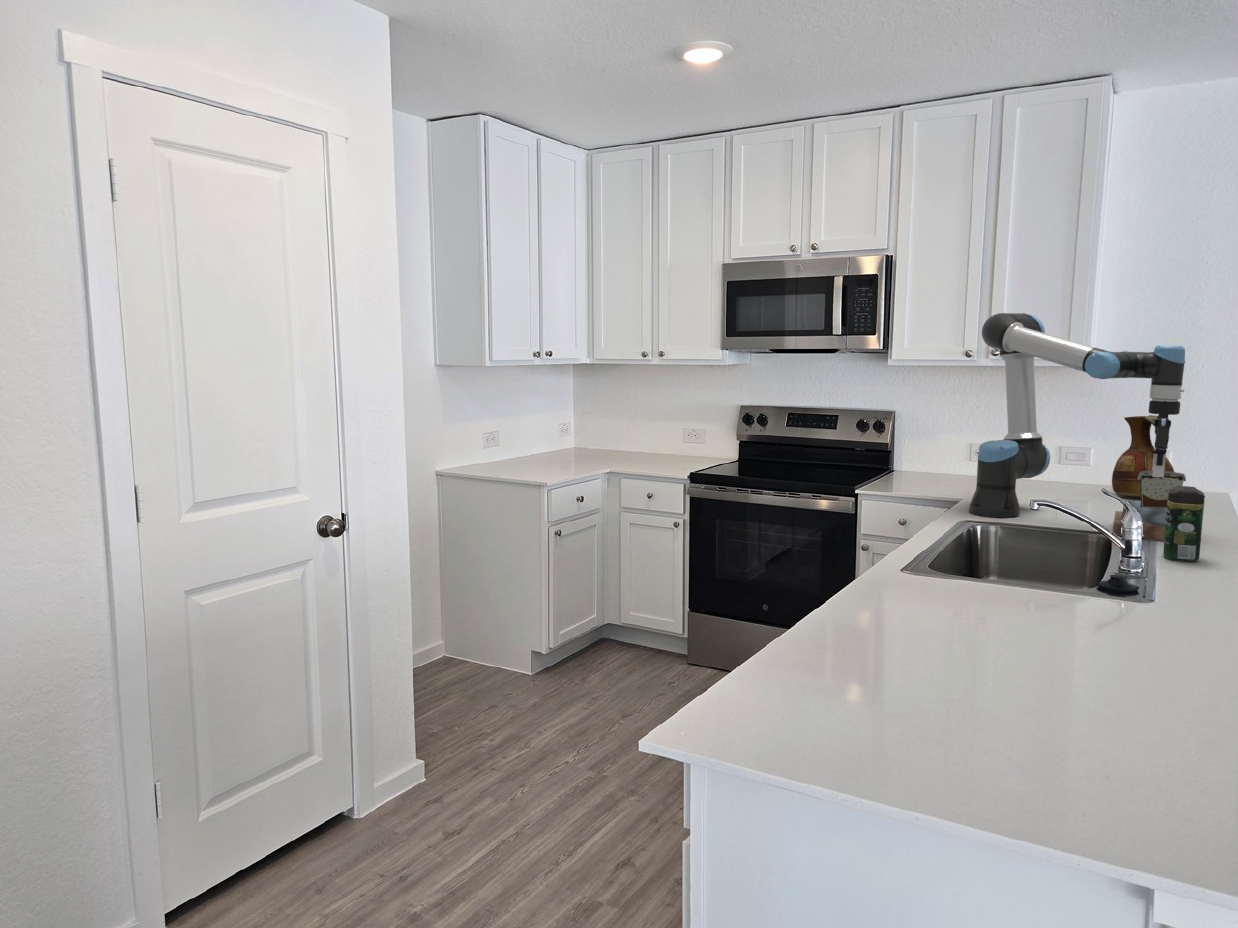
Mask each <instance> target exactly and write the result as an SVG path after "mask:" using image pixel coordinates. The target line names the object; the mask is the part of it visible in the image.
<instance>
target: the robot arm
mask: <svg viewBox="0 0 1238 928" xmlns="http://www.w3.org/2000/svg"><path fill="white" fill-rule="evenodd" d="M981 337H982V340H983V342H984V343H985V344H986V345H987V346H988V347H990V348H992V349H995V350H999V357H1000V359H1002V360H1003V361H1004V364H1005V366H1004V369H1005V391H1006V392H1005V394H1006V414H1007V434H1006V435H1005V436H1004V437H1003V439H997V440H995V439H994V440H987V441H985V442H982V443H981V444H980V445H979V447H978V453H977V467H976V468H977V470H976V471H977V472H976V485H975V486H976V488H975V491H974V493H973V495H972V498H971V501H970V503H969V507H968V511H969V513H971V514H974V515H977V516H983V517H991V518H993V517H994V518H1014V517H1013V516H1016V517H1019V516H1020V515H1021V507H1020V504H1019V500H1018V496H1017V491H1016V486H1017V480H1020V479H1031V478H1034V477H1037V476H1040V475H1042V474H1043V473H1044V472H1045V471H1047V469H1048V468H1049V465H1050V463H1051V453H1050V451H1049V448H1048V447H1047V446H1046V444H1044V443H1043V436H1042V435H1041V434H1040V433H1039V432H1038V430H1037V428H1038V426H1037V408H1036V406H1037V405H1036V385H1035V384H1036V383H1035V382H1036V380H1035V364H1034V363H1035V361H1034V360H1035V358H1038V359H1041V360H1044V361H1048V362H1051V363H1054V364H1056V365H1057V364H1058V365H1059V366H1060V365H1061V366H1063V367H1066V368H1067V367H1068V368H1070V369H1074V370H1077V371H1081V372H1082V373H1083V372H1084V373H1087V375H1089V376H1090V377H1091V378H1093V379H1098V380H1099V379H1100V380H1107V379H1150V380H1151V381H1150V382H1151V383H1150V389H1149V398H1150V399H1151V400H1149V403H1148V413H1149V414H1150V415H1156V416H1157V418H1158V420H1155V424H1154V425H1155V427H1154V434H1155V438H1154V440H1155V441H1154V445H1153V447H1154V450H1152V454H1154V456H1153V466H1152V470H1153V475H1152V477H1164V469H1165V459H1166V458H1167V449H1168V447H1169V446H1168V445H1169V444H1168V445H1167V435H1169V436H1170V428H1171V426H1172V420H1170V418H1169V416H1170V415H1172V416H1175V415H1180V411H1181V402H1180V401H1179V400H1181V399H1182V393H1184V392H1185V389H1184V388H1182V386H1183V379H1184V370H1185V364H1186V348H1185V347H1184V346H1182V345H1156V346H1155V347H1154V349H1153V351H1152V352H1146V351H1128V350H1127V351H1126V350H1125V351H1109V350H1105V349H1101V348H1099V347H1095V346H1091V345H1087V344H1084V343H1081V342H1077V341H1073V340H1070V339H1066V338H1063V337H1059V336H1055V335H1053V334H1049V333H1046V329H1045V326H1044V323H1043V322H1042V321H1041V319H1040V318H1038V317H1037V316H1035V315H1033V314H1030V313H1025V312H1024V313H1015V312H1014V313H1010V312H1009V313H1007V312H1001V313H996V314H993V315H992V316H990V317H988V318H987V319H986V320H985V322H984V323H983V325H982V327H981ZM1019 514H1020V515H1019ZM1018 515H1019V516H1018Z"/></svg>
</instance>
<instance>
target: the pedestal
mask: <svg viewBox="0 0 1238 928" xmlns="http://www.w3.org/2000/svg"><path fill="white" fill-rule="evenodd" d="M1124 501H1125V502H1128V503H1129V504H1130V505H1131V506H1132V507H1134V508H1135V509H1136V510H1137V512H1138V513H1139V514H1140V516H1141V518H1142V522H1143V535H1144V538H1150V539H1155V540H1154V541H1157V540H1158V541H1159V542H1164V536H1165V521H1166V510H1167V508H1145V507H1141V500H1132V499H1124V500H1123V502H1124ZM1125 513H1126V507H1125V506H1124V504H1123V507H1122V510H1116V511H1115V513H1114V518H1113V523H1112V524H1113V526H1112V534H1113V533H1115V534H1118V535H1121V520H1122V519H1123V517H1124V515H1125Z"/></svg>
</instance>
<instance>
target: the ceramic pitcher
mask: <svg viewBox="0 0 1238 928" xmlns="http://www.w3.org/2000/svg"><path fill="white" fill-rule="evenodd" d="M1157 416H1158V415H1153V414H1149V415H1148V416H1147V415H1139V416H1138V415H1137V416H1136V415H1135V416H1127V417H1125V416H1124V418H1123V420H1125V421H1126V423H1127V425H1128V427H1129V429H1130V436H1131V440H1130V446H1129V447H1128V448H1127V449H1126V450H1125V451H1123V453H1122V454H1120V456H1119V457H1118V459H1117V461H1116V462H1115V465H1114V468H1113V472H1112V476H1111V488H1112V490H1113V492H1114V493H1116V494H1118V495H1122V496H1126V497H1133V498H1141V497H1140V480H1138V479H1137V478H1138V475H1139V474H1140V472H1141V471H1153V470H1152V466H1153V456H1154V454H1152V450H1154V448H1155V447H1154V445H1153V442H1152V439H1151V428H1152V426H1153V427H1154V428H1155V425H1154V424H1155V420H1158V418H1157ZM1169 438H1170V434H1169V435H1167V445H1169V441H1170V440H1169ZM1164 471H1168V472H1175V470H1174V467H1173V465H1172V464H1171V461H1170V460H1169V459H1168V457H1166V459H1165V469H1164Z"/></svg>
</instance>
